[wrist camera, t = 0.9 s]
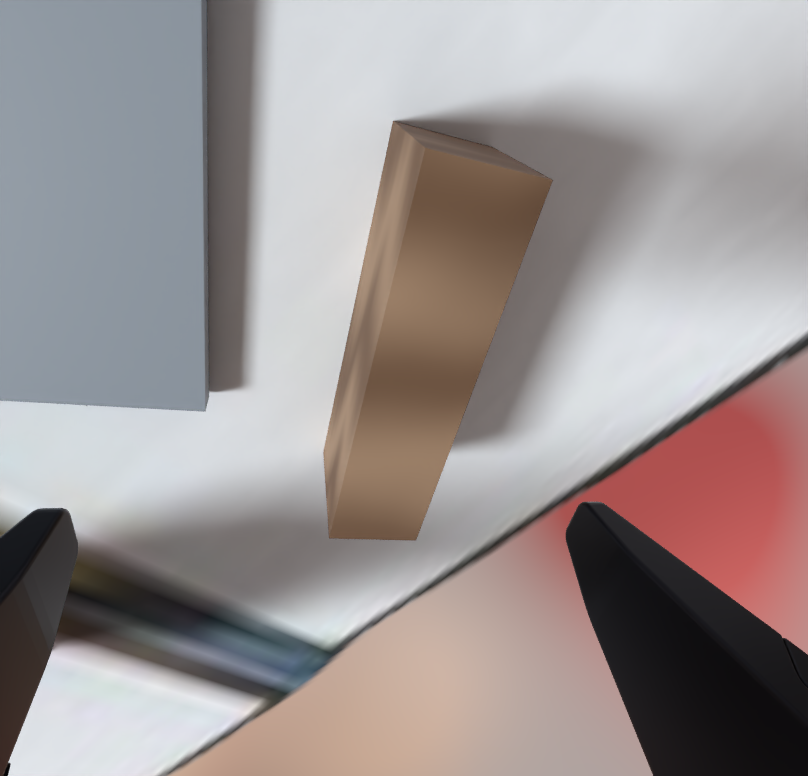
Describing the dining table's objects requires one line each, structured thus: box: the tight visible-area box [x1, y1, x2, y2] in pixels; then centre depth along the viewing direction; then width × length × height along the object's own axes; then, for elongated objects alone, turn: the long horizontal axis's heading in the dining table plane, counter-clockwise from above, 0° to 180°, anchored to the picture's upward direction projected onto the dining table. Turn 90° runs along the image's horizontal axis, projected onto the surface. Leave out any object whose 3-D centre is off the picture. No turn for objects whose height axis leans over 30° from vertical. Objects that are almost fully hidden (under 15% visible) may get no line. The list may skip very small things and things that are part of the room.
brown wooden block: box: [323, 121, 553, 540], centre depth 18 cm, size 14×4×5 cm, turn 166°
